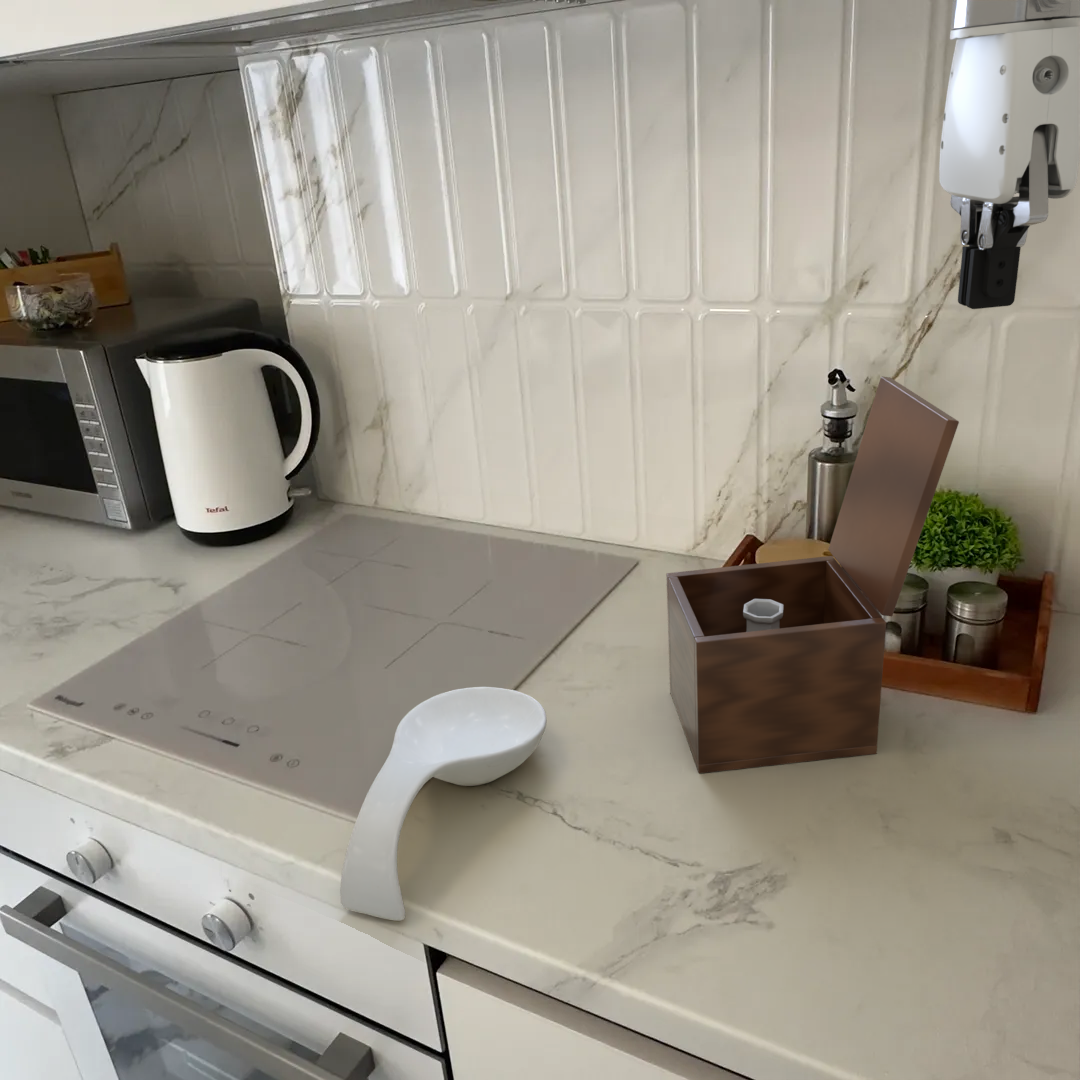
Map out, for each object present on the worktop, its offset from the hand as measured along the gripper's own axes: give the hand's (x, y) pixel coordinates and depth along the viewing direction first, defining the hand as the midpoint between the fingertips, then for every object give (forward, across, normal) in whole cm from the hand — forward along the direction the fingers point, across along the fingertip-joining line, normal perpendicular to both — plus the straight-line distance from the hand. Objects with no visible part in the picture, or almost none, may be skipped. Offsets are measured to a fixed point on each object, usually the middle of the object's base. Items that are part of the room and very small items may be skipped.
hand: (985, 304), depth 68 cm
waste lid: (+13, 0, +7) cm, 15 cm away
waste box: (+33, 0, +15) cm, 36 cm away
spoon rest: (+33, -6, +42) cm, 54 cm away
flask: (+32, 0, +15) cm, 36 cm away
